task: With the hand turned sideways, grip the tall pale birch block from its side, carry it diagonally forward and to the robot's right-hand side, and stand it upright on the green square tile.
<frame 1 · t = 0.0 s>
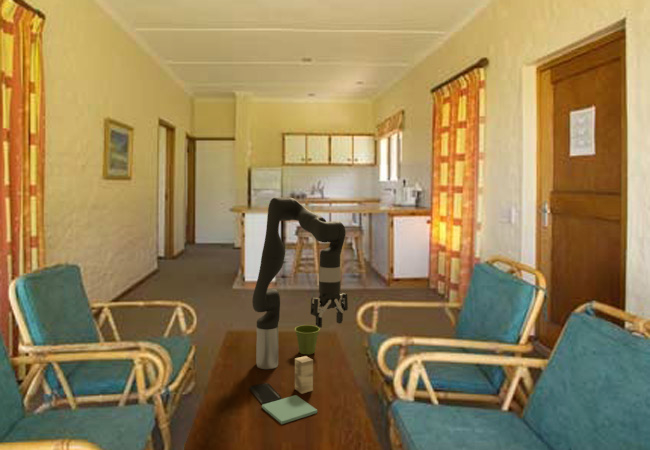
hand: (329, 325, 164), 29 cm above the table, tool pointing down, fingers open, 8 cm apart
phone: (264, 395, 176), on the table
plant pot: (307, 352, 220), on the table
birch block: (303, 389, 180), on the table
green square tile: (289, 410, 163), on the table
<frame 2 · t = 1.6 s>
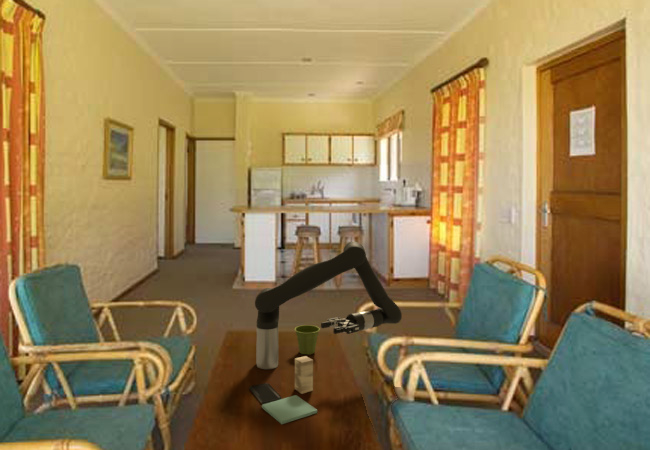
hand: (327, 328, 184), 22 cm above the table, tool horizontal, fingers open, 8 cm apart
nothing on the table moved.
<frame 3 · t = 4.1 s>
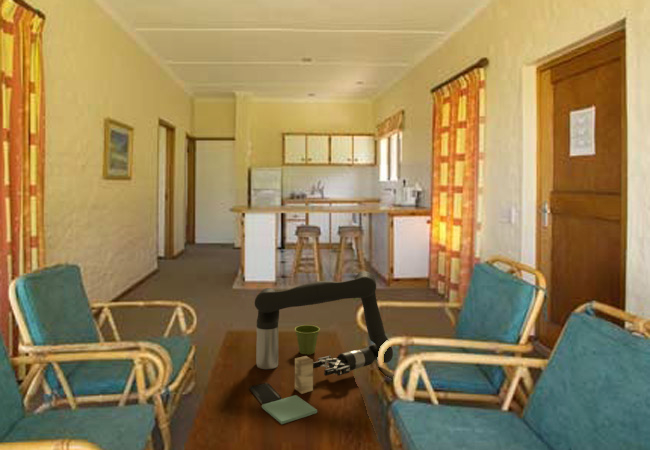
hand: (318, 369, 183), 6 cm above the table, tool horizontal, fingers open, 8 cm apart
nothing on the table moved.
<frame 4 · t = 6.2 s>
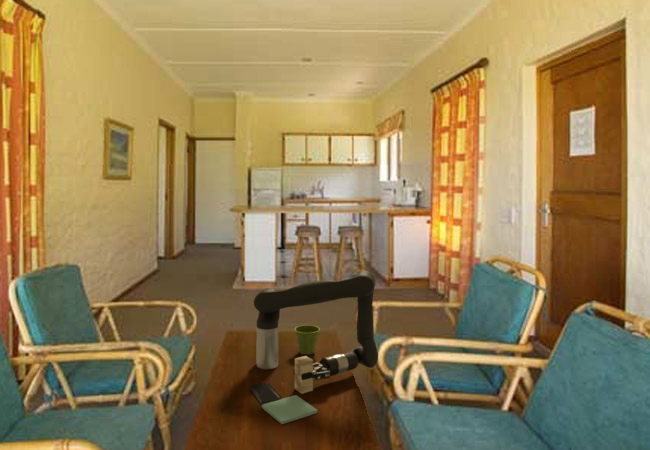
hand: (298, 374, 178), 7 cm above the table, tool horizontal, fingers closed on birch block, 5 cm apart
birch block: (303, 389, 180), on the table, touching gripper
everything else where it was.
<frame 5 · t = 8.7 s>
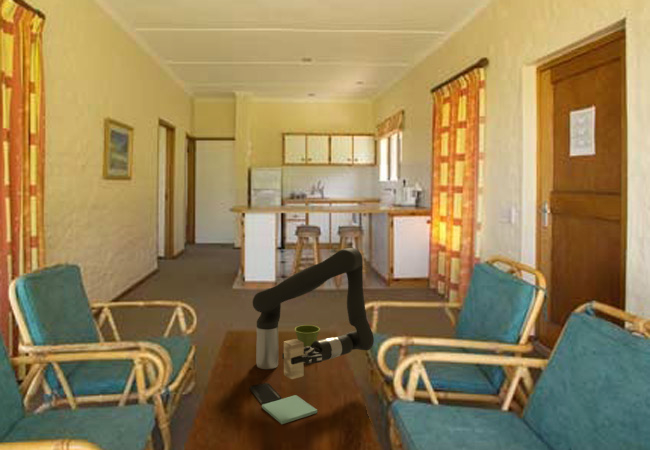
hand: (287, 358, 163), 18 cm above the table, tool horizontal, fingers closed on birch block, 5 cm apart
birch block: (293, 375, 165), point 11 cm above the table, touching gripper
everything else where it was.
when the fingers open (8 cm above the table, at t = 11.2 s): birch block stays where it is, resting on green square tile.
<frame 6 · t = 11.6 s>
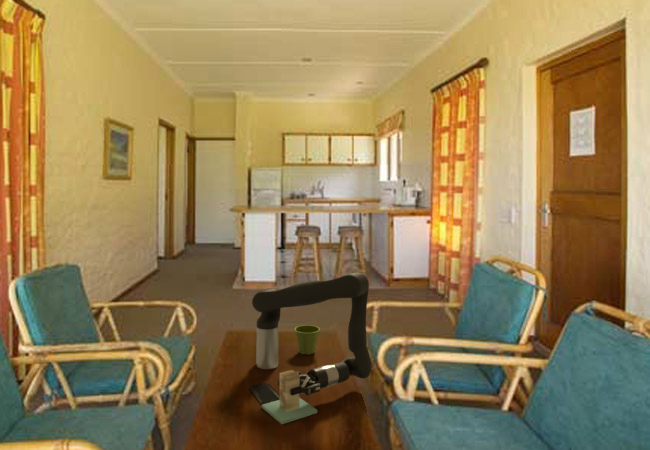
hand: (284, 387, 162), 8 cm above the table, tool horizontal, fingers open, 8 cm apart
birch block: (289, 407, 163), point 1 cm above the table, touching green square tile
everything else where it was.
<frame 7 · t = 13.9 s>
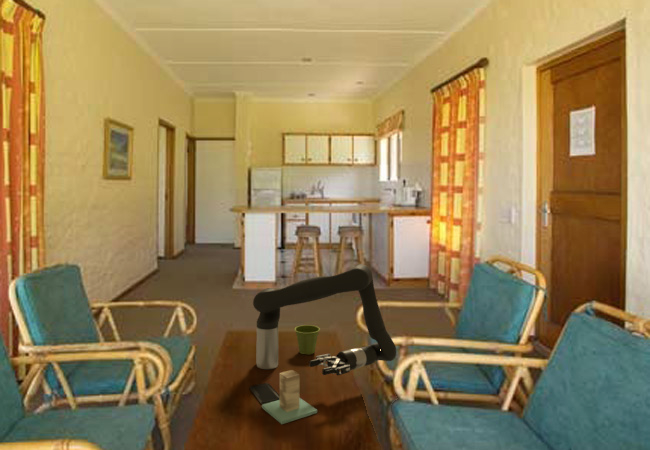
hand: (316, 368, 170), 12 cm above the table, tool horizontal, fingers open, 8 cm apart
nothing on the table moved.
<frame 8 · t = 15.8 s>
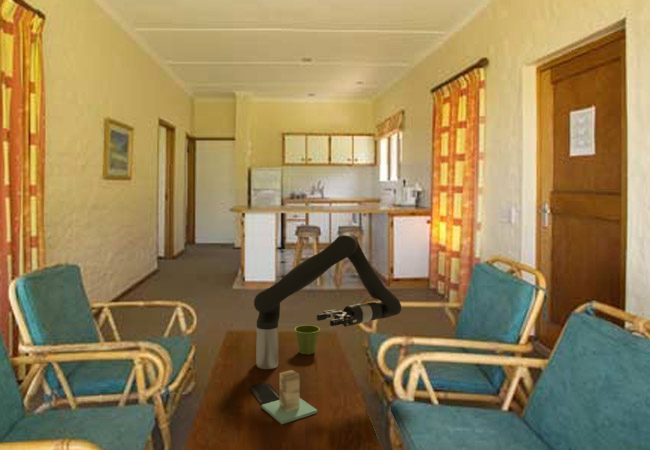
hand: (323, 320, 174), 28 cm above the table, tool horizontal, fingers open, 8 cm apart
nothing on the table moved.
at the end: birch block inside the target area on the green square tile (0.1 cm from its centre), point 1.0 cm above the green square tile's base; birch block tilted 0°; the gripper is holding nothing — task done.
